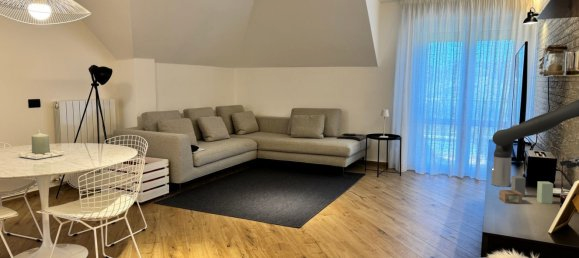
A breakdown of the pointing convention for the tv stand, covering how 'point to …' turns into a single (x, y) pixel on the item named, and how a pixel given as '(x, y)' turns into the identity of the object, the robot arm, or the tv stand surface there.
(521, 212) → the tv stand surface
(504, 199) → the brown box
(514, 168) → the tv stand surface
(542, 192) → the sage green block
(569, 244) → the tv stand surface
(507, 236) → the tv stand surface
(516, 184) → the charcoal block
